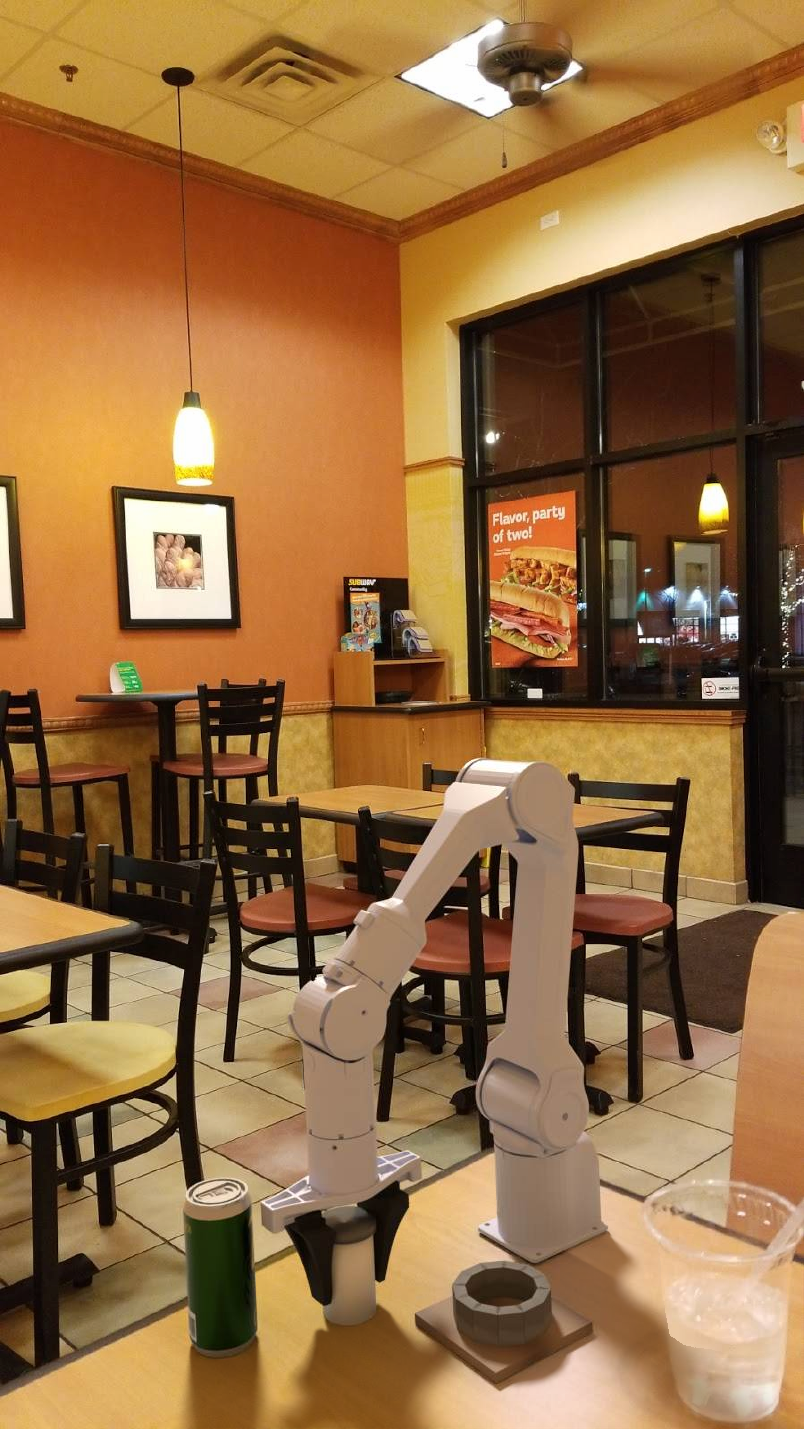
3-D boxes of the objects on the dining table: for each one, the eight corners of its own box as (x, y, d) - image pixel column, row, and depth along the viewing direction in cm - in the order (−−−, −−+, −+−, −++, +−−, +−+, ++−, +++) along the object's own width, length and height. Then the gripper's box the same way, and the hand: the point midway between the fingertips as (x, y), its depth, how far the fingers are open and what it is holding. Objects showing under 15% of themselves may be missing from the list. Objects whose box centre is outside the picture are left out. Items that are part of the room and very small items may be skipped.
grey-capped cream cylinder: (358, 1286, 95) (354, 1200, 95) (392, 1311, 91) (387, 1222, 91) (308, 1307, 92) (304, 1219, 92) (340, 1335, 88) (336, 1242, 88)
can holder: (508, 1278, 95) (506, 1241, 95) (592, 1331, 87) (591, 1290, 87) (415, 1322, 90) (413, 1282, 89) (496, 1383, 81) (494, 1339, 81)
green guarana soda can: (206, 1369, 85) (198, 1214, 84) (179, 1335, 89) (171, 1188, 89) (269, 1343, 88) (262, 1193, 87) (240, 1312, 92) (233, 1170, 92)
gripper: (385, 1090, 99) (392, 1240, 99) (239, 1135, 90) (247, 1298, 91) (433, 1113, 93) (440, 1272, 94) (282, 1163, 85) (291, 1338, 85)
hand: (348, 1288), depth 92 cm, fingers closed on grey-capped cream cylinder, 5 cm apart
